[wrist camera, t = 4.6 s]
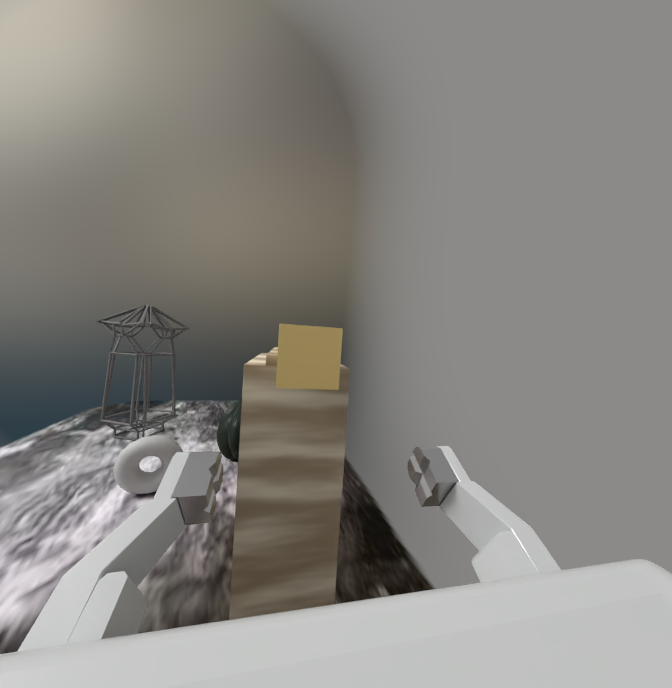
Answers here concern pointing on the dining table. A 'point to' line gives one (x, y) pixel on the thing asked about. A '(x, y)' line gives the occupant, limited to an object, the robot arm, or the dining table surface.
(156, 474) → the donut
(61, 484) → the dining table surface
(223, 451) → the squash
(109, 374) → the geometric lantern
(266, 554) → the plinth
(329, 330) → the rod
